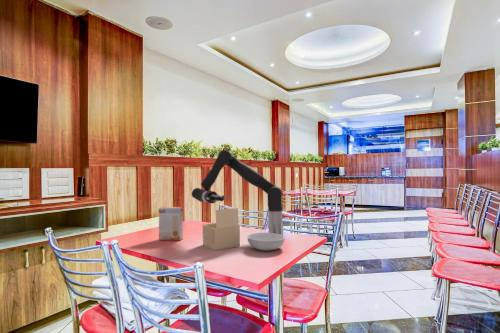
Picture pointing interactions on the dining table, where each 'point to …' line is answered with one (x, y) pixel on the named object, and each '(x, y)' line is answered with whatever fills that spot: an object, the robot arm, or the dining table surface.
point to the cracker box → (170, 223)
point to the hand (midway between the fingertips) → (222, 199)
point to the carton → (221, 237)
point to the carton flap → (227, 218)
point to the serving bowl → (266, 241)
